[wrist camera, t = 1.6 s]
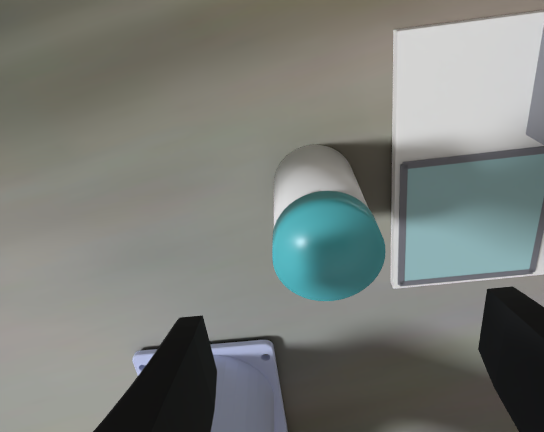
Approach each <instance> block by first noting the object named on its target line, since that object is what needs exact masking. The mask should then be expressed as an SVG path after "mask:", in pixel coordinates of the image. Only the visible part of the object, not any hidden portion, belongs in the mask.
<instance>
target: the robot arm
mask: <svg viewBox="0 0 544 432" xmlns="http://www.w3.org/2000/svg"><path fill="white" fill-rule="evenodd" d="M478 349H479V352H480V354H481V357H482V359H483V362H484V364H485V367H486V369H487V372H488V374H489V376H490V379H491V381H492V383H493V386H494V388H495V390H496V391H497V393H498V395H499V397H500V399H501V400H502V402H503V404H504V406H505V408H506V409H507V411H508V413H509V415H510V416H511V418H512V420H513V422H514V423H515V425H516V427H517V429H518V430H519V432H544V307H543V306H541V305H540V304H538V303H537V302H535V301H534V300H532V299H531V298H529V297H528V296H526V295H525V294H523V293H522V292H520V291H519V290H517V289H516V288H514V287H503V288H492V289H487V294H486V301H485V307H484V314H483V321H482V327H481V334H480V341H479V348H478ZM263 354H268V355H263ZM132 360H133V364H134V366H135V369H136V372H137V374H138V377H137V378H136V379H135V381H134V382H133V384H132V385H131V386H130V387H129V389H128V390H127V391H126V393H125V394H124V395H123V396H122V398H121V399H120V400H119V401H118V403H117V404H116V405H115V406H114V407H113V409H112V410H111V411H110V412H109V414H108V415H107V416H106V417H105V419H104V420H103V421H102V422H101V423H100V424H99V426H98V427H97V428H96V429H95V430H94V431H93V432H288V430H287V424H286V418H285V412H284V406H283V400H282V394H281V388H280V382H279V376H278V370H277V364H276V358H275V352H274V346H273V343H272V342H271V341H269V340H254V341H243V342H232V343H220V344H210V342H209V338H208V334H207V330H206V327H205V323H204V319H203V316H193V317H182V318H179V319H178V320H177V321H176V323H175V324H174V326H173V327H172V329H171V330H170V332H169V333H168V335H167V336H166V337H165V339H164V340H163V342H162V343H161V345H160V346H159V348H158V349H153V350H142V351H137V352H136V353H135V354H134V356H133V359H132ZM144 365H146V366H144Z"/></svg>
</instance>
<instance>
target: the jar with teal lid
mask: <svg viewBox="0 0 544 432" xmlns="http://www.w3.org/2000/svg"><path fill="white" fill-rule="evenodd" d="M384 259H385V244H384V239H383V237H382V235H381V232H380V230H379V228H378V225H377V223H376V221H375V218H374V216H373V214H372V213H371V211H370V210H369V208H368V206H367V203H366V201H365V199H364V196H363V194H362V192H361V189H360V187H359V185H358V182H357V180H356V178H355V175H354V173H353V170H352V168H351V166H350V164H349V162H348V160H347V159H346V158H345V157H344V156H343V155H342V154H341V153H340V152H338V151H337V150H335V149H333V148H331V147H328V146H323V145H308V146H303V147H300V148H298V149H296V150H294V151H292V152H291V153H289V154H288V155H287V156H286V157H285V158H284V159H283V160H282V161H281V163H280V164H279V166H278V168H277V170H276V173H275V177H274V230H273V265H274V269H275V272H276V274H277V276H278V277H279V279H280V280H281V282H282V283H283V284H284V285H285V286H286V287H287V288H288V289H289V290H291V291H292V292H294V293H296V294H297V295H299V296H302V297H304V298H308V299H311V300H317V301H334V300H340V299H344V298H347V297H350V296H353V295H355V294H357V293H359V292H360V291H362V290H363V289H365V288H366V287H367V286H369V285H370V284H371V283H372V282H373V281H374V279H375V278H376V277H377V276H378V274H379V272H380V270H381V268H382V266H383V263H384Z"/></svg>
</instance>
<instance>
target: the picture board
mask: <svg viewBox="0 0 544 432" xmlns="http://www.w3.org/2000/svg"><path fill="white" fill-rule="evenodd" d="M543 274H544V10H539V11H531V12H524V13H516V14H509V15H501V16H494V17H486V18H478V19H471V20H463V21H456V22H448V23H441V24H433V25H425V26H418V27H410V28H403V29H395V30H393V113H392V198H391V284H392V286H393V289H396V288H406V287H417V286H427V285H438V284H448V283H459V282H469V281H480V280H491V279H501V278H512V277H522V276H533V275H543Z"/></svg>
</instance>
